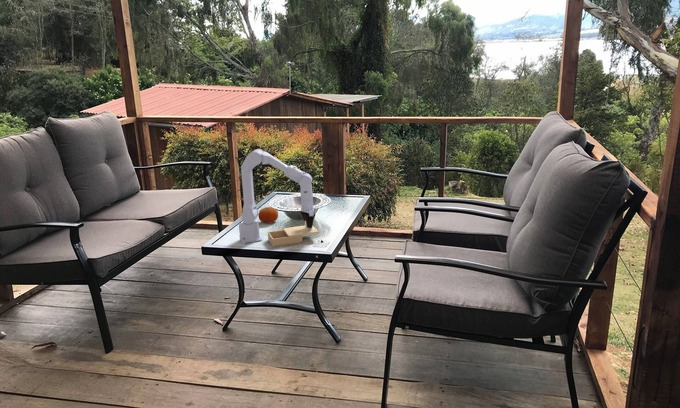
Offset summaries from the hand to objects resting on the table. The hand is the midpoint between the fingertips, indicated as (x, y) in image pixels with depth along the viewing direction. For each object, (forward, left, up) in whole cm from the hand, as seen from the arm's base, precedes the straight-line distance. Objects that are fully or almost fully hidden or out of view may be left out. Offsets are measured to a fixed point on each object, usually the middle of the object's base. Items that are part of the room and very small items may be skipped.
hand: (308, 226), depth 244 cm
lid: (-4, 0, -2) cm, 4 cm away
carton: (-12, 0, -6) cm, 13 cm away
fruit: (-13, +36, -6) cm, 39 cm away
